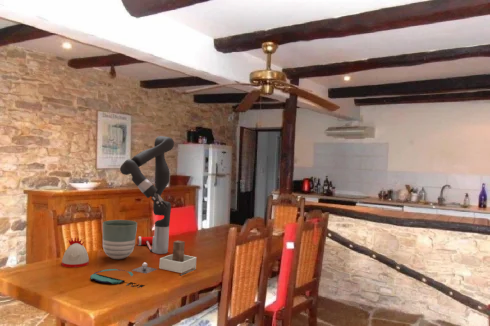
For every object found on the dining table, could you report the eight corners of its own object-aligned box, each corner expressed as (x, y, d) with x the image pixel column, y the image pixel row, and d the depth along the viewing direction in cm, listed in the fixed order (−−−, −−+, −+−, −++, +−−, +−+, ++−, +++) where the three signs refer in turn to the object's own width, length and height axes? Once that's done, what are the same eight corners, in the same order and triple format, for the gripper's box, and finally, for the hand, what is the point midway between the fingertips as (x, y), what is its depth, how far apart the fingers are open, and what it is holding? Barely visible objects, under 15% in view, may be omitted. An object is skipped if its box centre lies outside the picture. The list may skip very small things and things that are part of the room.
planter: (125, 252, 256) (127, 218, 256) (141, 259, 242) (143, 224, 242) (94, 256, 242) (96, 221, 242) (110, 264, 228) (112, 226, 228)
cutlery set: (107, 270, 218) (108, 266, 217) (157, 280, 209) (157, 275, 209) (82, 281, 199) (83, 276, 198) (135, 292, 190) (136, 287, 190)
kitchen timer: (64, 260, 231) (65, 234, 230) (89, 260, 234) (91, 234, 234) (59, 267, 217) (61, 240, 217) (86, 267, 221) (88, 240, 220)
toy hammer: (160, 252, 265) (161, 242, 264) (142, 252, 260) (143, 242, 260) (153, 244, 285) (154, 235, 285) (136, 244, 281) (137, 235, 281)
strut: (171, 268, 225) (173, 241, 224) (176, 266, 229) (177, 240, 228) (178, 270, 223) (180, 243, 222) (183, 268, 227) (184, 241, 227)
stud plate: (130, 272, 216) (131, 262, 215) (142, 268, 225) (143, 258, 224) (145, 276, 211) (146, 266, 211) (157, 271, 220) (158, 262, 220)
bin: (159, 271, 222) (159, 258, 222) (174, 265, 235) (175, 253, 235) (181, 275, 216) (182, 262, 216) (195, 269, 229) (196, 257, 229)
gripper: (150, 185, 229) (170, 206, 230) (153, 182, 243) (171, 202, 244) (140, 193, 228) (160, 214, 230) (144, 191, 242) (162, 210, 244)
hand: (166, 208), depth 237 cm, fingers open, 8 cm apart
